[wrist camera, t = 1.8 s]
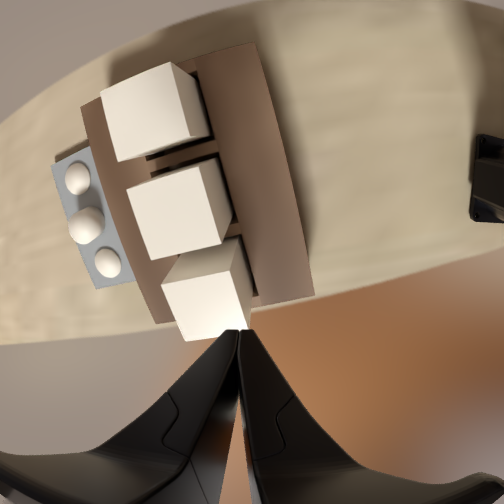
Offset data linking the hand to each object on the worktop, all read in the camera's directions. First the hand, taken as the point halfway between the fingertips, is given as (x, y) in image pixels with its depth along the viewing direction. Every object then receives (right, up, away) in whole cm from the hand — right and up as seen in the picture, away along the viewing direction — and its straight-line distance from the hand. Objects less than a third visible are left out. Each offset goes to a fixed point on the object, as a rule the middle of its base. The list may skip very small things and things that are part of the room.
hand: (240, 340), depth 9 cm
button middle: (-3, +6, +7) cm, 10 cm away
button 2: (-2, +2, +9) cm, 9 cm away
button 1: (-4, +10, +6) cm, 12 cm away
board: (-2, +7, +9) cm, 12 cm away
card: (-11, +5, +11) cm, 16 cm away
